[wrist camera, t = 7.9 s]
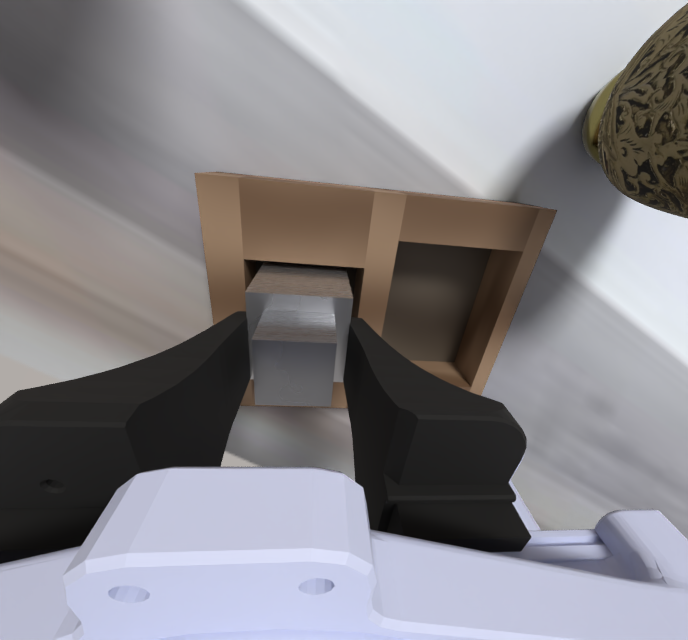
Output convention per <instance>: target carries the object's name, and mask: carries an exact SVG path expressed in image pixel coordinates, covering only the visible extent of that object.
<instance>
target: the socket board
mask: <svg viewBox="0 0 688 640" xmlns="http://www.w3.org/2000/svg"><path fill="white" fill-rule="evenodd" d="M195 180H196V188H197V196H198V204H199V212H200V220H201V228H202V236H203V244H204V252H205V260H206V268H207V276H208V284H209V292H210V300H211V308H212V316H213V324H214V325H215V324H217V323H218V322H220V321H222V320H223V319H225V318H226V317H228V316H230V315H231V314H233V313H235V312H237V311H246V300H245V291H246V290H247V288H248V286H249V285H250V283H251V282H252V280H253V279H254V277H255V276H256V274H257V272H258V271H259V269H260V268H261V266H262V265H263V263H264V261H274V262H288V263H301V264H315V265H328V266H342V267H345V268H346V272H347V276H348V280H349V284H350V287H351V291H352V295H353V305H352V314H351V317H354V318H362V319H363V320H364V321H365V322H366V323H367V324H368V325H369V326H370V327H371V328H372V329H373V330H374V331H375V332H376V333H377V334H378V335H379V336H380V337H381V338H382V339H383V340H384V341H386V342H387V343H388V344H389V345H390V346H391V347H392V348H394V349H395V350H396V351H397V352H399V353H400V354H401V355H402V356H404V357H405V358H407V359H408V360H410V361H411V362H413V363H414V364H416V365H417V366H419V367H420V368H422V369H424V370H425V371H427V372H429V373H431V374H433V375H434V376H436V377H438V378H440V379H442V380H444V381H446V382H448V383H450V384H453V385H455V386H457V387H460V388H462V389H464V390H467V391H469V392H472V393H475V394H477V395H480V396H481V394H482V392H483V389H484V387H485V384H486V382H487V380H488V377H489V375H490V372H491V370H492V367H493V365H494V363H495V360H496V358H497V355H498V353H499V350H500V348H501V346H502V343H503V341H504V338H505V336H506V333H507V331H508V329H509V326H510V324H511V321H512V319H513V316H514V314H515V312H516V309H517V307H518V304H519V302H520V299H521V297H522V295H523V292H524V290H525V287H526V285H527V282H528V280H529V277H530V275H531V273H532V270H533V268H534V265H535V263H536V260H537V258H538V256H539V253H540V251H541V248H542V246H543V243H544V241H545V239H546V236H547V234H548V231H549V229H550V226H551V224H552V222H553V219H554V217H555V214H556V212H557V210H554V209H548V208H543V207H538V206H532V205H527V204H522V203H513V202H503V201H494V200H484V199H474V198H465V197H455V196H446V195H436V194H426V193H417V192H407V191H397V190H388V189H378V188H368V187H359V186H349V185H339V184H330V183H320V182H310V181H301V180H291V179H281V178H272V177H262V176H253V175H243V174H233V173H224V172H205V173H195ZM240 406H279V407H321V408H348V406H347V400H346V395H345V389H344V383H343V382H333V390H332V400H331V407H324V406H281V405H255V394H254V379H250V381H249V384H248V386H247V389H246V391H245V394H244V396H243V399H242V401H241V404H240Z"/></svg>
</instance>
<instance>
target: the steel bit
mask: <svg viewBox="0 0 688 640" xmlns="http://www.w3.org/2000/svg"><path fill="white" fill-rule="evenodd" d="M245 300H246V316H247V322H248V340H249V357H250V375H251V378H250V379H254V394H255V405H281V406H324V407H331V400H332V390H333V382H343V378H344V369H345V361H346V352H347V343H348V335H349V326H350V322H351V314H352V305H353V295H352V291H351V287H350V284H349V280H348V276H347V272H346V268H345V267H342V266H328V265H315V264H301V263H288V262H274V261H264V263H263V265H262V266H261V268H260V269H259V271H258V272H257V274H256V276H255V277H254V279H253V280H252V282H251V283H250V285H249V286H248V288H247V290H246V291H245Z"/></svg>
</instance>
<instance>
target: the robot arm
mask: <svg viewBox="0 0 688 640" xmlns="http://www.w3.org/2000/svg"><path fill="white" fill-rule="evenodd" d="M250 378H251V375H250V357H249V340H248V322H247V316H246V311H237V312H235V313H233V314H231V315H230V316H228V317H226V318H225V319H223V320H222V321H220V322H218V323H217V324H215V325H213V326H212V327H210V328H208V329H207V330H205V331H203V332H201V333H200V334H198V335H196V336H194V337H192V338H190V339H189V340H187V341H185V342H183V343H181V344H179V345H177V346H175V347H172V348H170V349H168V350H165V351H163V352H161V353H158V354H156V355H153V356H151V357H148V358H145V359H142V360H139V361H136V362H134V363H131V364H128V365H125V366H122V367H119V368H115V369H112V370H108V371H105V372H102V373H98V374H94V375H90V376H86V377H82V378H78V379H74V380H69V381H65V382H60V383H55V384H50V385H45V386H41V387H35V388H30V389H25V390H20V391H17V392H16V393H15V394H13V395H11V396H10V397H9V398H7V399H6V400H5V401H3V402H2V403H1V404H0V640H688V540H687V539H686V538H685V537H684V536H683V535H682V534H681V533H680V532H679V531H678V530H677V528H676V527H675V526H674V525H673V524H672V523H671V522H670V521H669V520H668V519H667V518H666V517H665V516H664V515H663V514H662V513H661V512H660V511H658V510H654V509H639V510H616V511H612V512H610V513H608V514H606V515H605V516H603V517H602V518H601V519H600V520H599V522H598V523H597V525H596V526H595V529H581V530H540V528H539V526H538V525H537V523H536V521H535V520H534V518H533V516H532V515H531V513H530V511H529V510H528V508H527V506H526V505H525V503H524V501H523V500H522V498H521V496H520V495H519V493H518V491H517V490H516V488H515V486H514V485H513V483H512V481H511V478H512V476H513V475H514V473H515V471H516V469H517V468H518V466H519V464H520V462H521V461H522V459H523V457H524V452H525V450H526V436H525V434H524V432H523V430H522V428H521V427H520V426H519V424H518V423H517V422H516V420H515V419H514V418H513V416H512V415H511V414H510V412H509V411H508V410H507V408H506V407H505V406H504V405H503V404H502V403H500V402H498V401H495V400H492V399H489V398H486V397H483V396H480V395H477V394H475V393H472V392H469V391H467V390H464V389H462V388H460V387H457V386H455V385H453V384H450V383H448V382H446V381H444V380H442V379H440V378H438V377H436V376H434V375H433V374H431V373H429V372H427V371H425V370H424V369H422V368H420V367H419V366H417V365H416V364H414V363H413V362H411V361H410V360H408V359H407V358H405V357H404V356H402V355H401V354H400V353H399V352H397V351H396V350H395V349H394V348H392V347H391V346H390V345H389V344H388V343H387V342H386V341H384V340H383V339H382V338H381V337H380V336H379V335H378V334H377V333H376V332H375V331H374V330H373V329H372V328H371V327H370V326H369V325H368V324H367V323H366V322H365V321H364V320H363V319H362V318H354V317H351V322H350V326H349V335H348V343H347V352H346V361H345V369H344V378H343V383H344V389H345V395H346V400H347V406H348V411H349V417H350V422H351V429H352V437H353V451H354V466H355V481H353V480H352V479H350V478H349V477H348V476H346V475H345V474H343V473H342V472H339V471H334V470H328V469H322V468H317V467H220V466H221V462H222V458H223V454H224V451H225V447H226V444H227V440H228V436H229V433H230V430H231V427H232V424H233V422H234V419H235V416H236V414H237V411H238V409H239V406H240V404H241V401H242V399H243V396H244V394H245V391H246V389H247V386H248V384H249V381H250Z"/></svg>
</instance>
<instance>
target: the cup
mask: <svg viewBox="0 0 688 640" xmlns="http://www.w3.org/2000/svg"><path fill="white" fill-rule="evenodd" d="M582 140H583V145H584V148H585V150H586V152H587V153H588V155H589V156H590V157H591V158H592V159H593V160H595V161H596V162H597V163H599V164H601V166H602V168H603V170H604V172H605V174H606V176H607V178H608V179H609V181H610V182H611V183H612V184H613V185H614V186H615V187H616V188H617V189H618V190H619V191H620V192H622V193H623V194H624V195H626V196H627V197H629V198H631V199H633V200H635V201H637V202H639V203H641V204H644V205H646V206H649V207H652V208H654V209H657V210H660V211H663V212H667V213H670V214H673V215H677V216H681V217H684V218H688V3H687V4H686V5H685V6H684V7H682V8H681V9H680V10H679V11H677V12H676V13H675V14H674V15H673V16H672V17H671V18H670V19H669V20H667V21H666V22H665V23H664V24H663V25H662V26H661V27H660V28H659V29H658V30H657V31H656V32H655V33H654V34H653V35H652V36H651V37H650V38H649V39H648V40H647V41H646V42H645V43H644V44H643V46H642V47H641V48H640V49H639V51H638V52H637V53H636V54H635V56H634V57H633V58H632V59H631V61H630V62H629V63H628V65H627V66H626V68H625V69H623V70H622V71H621V72H620V73H618V74H617V75H616V76H615V77H613V78H612V79H611V80H610V81H609V82H608V83H607V84H606V85H605V86H604V87H603V88H602V89H601V90H600V92H599V93H598V94H597V96H596V97H595V99H594V100H593V102H592V103H591V105H590V107H589V109H588V111H587V114H586V117H585V120H584V124H583V130H582Z"/></svg>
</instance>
